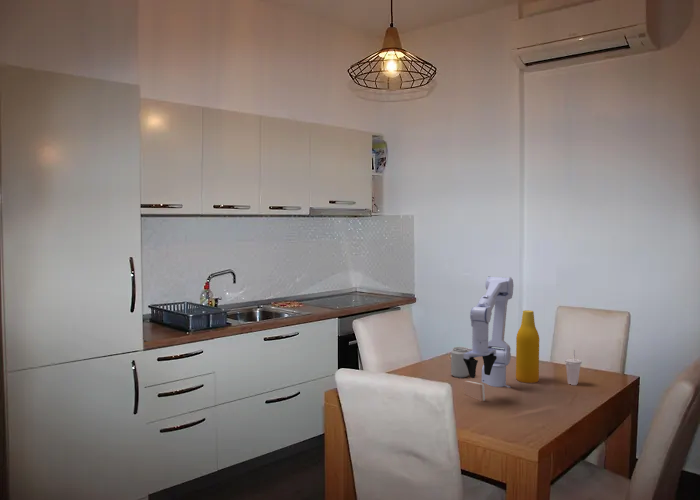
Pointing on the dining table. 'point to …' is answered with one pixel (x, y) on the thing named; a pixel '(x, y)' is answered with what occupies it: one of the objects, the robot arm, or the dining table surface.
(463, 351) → the can
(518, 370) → the beer bottle
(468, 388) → the tile
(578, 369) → the smoothie
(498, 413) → the dining table surface
